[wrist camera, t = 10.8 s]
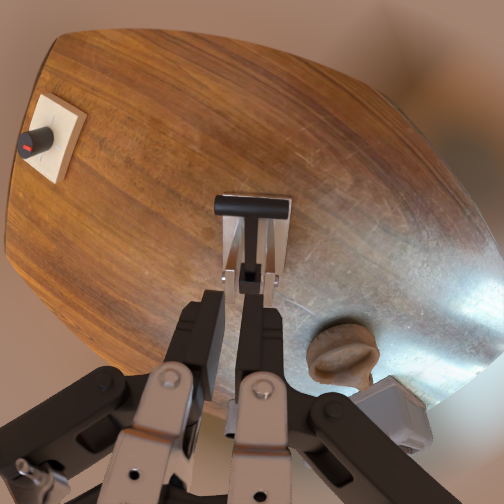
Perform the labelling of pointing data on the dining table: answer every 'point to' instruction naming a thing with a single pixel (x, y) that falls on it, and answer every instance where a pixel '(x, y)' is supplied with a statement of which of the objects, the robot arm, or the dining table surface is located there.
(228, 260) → the bracket
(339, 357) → the bowl
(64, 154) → the dial panel
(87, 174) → the dining table surface
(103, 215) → the dining table surface
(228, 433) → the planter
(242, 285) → the lever
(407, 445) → the toaster
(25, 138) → the dial
